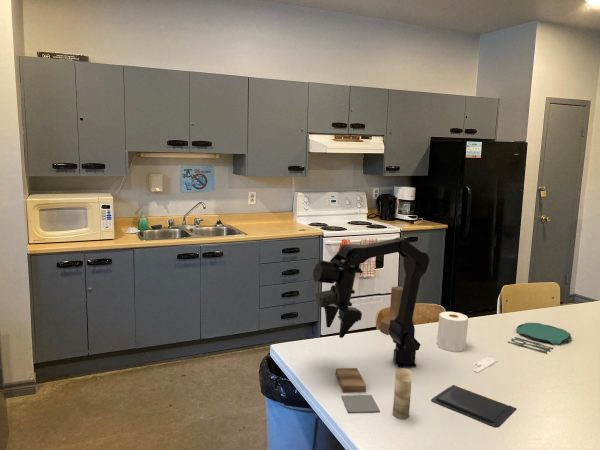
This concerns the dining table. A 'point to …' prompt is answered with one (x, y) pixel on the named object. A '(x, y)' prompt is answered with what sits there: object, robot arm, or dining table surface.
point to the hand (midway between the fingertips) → (334, 332)
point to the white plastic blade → (484, 364)
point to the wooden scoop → (392, 308)
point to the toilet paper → (452, 331)
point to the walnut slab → (350, 380)
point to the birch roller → (402, 393)
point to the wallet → (474, 406)
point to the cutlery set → (541, 335)
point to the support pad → (360, 404)
